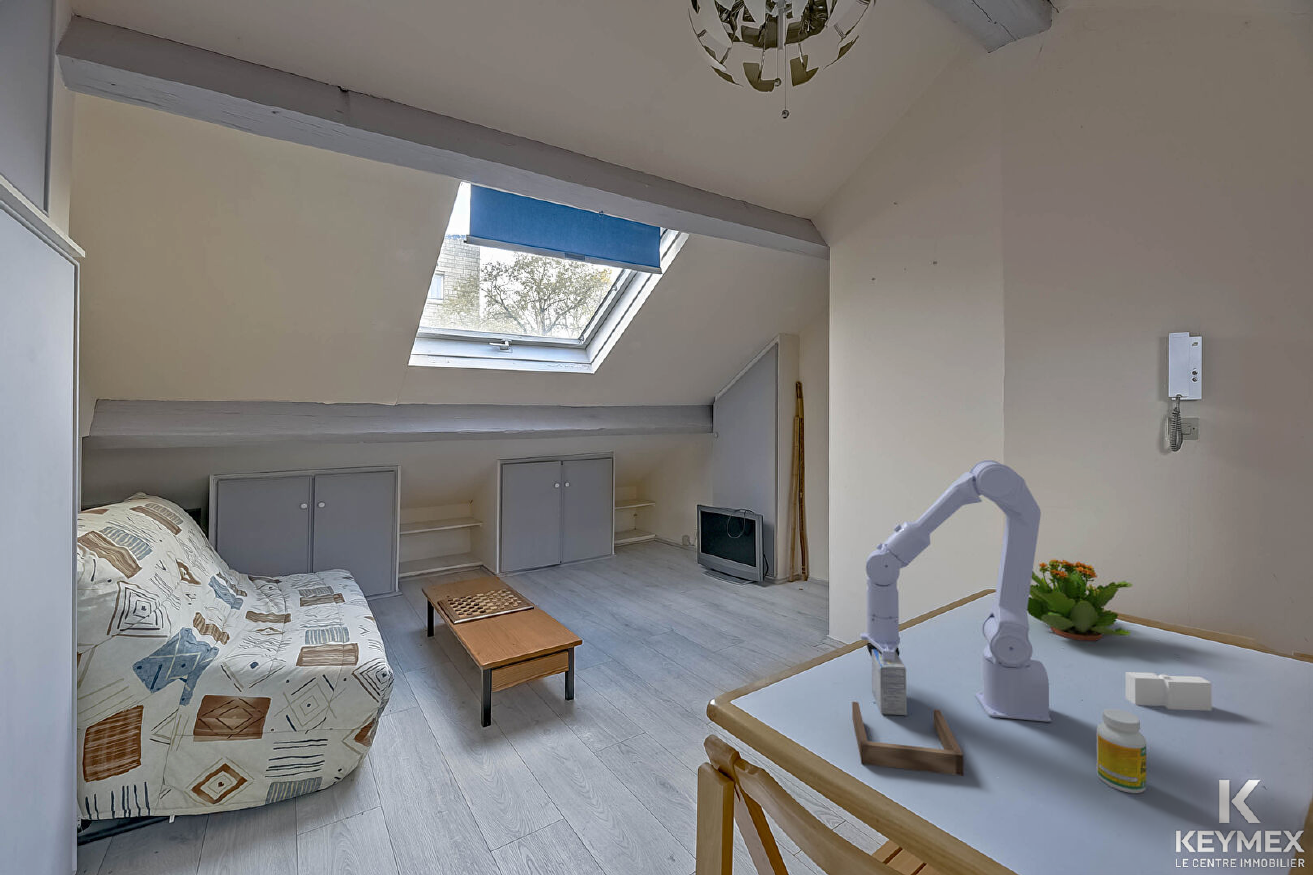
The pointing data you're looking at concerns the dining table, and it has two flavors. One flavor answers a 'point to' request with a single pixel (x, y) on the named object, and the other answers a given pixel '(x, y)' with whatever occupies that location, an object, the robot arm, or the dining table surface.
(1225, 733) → the dining table surface
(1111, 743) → the supplement bottle
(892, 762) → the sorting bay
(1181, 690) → the white notched double block
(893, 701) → the medicine box
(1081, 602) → the potted flower
